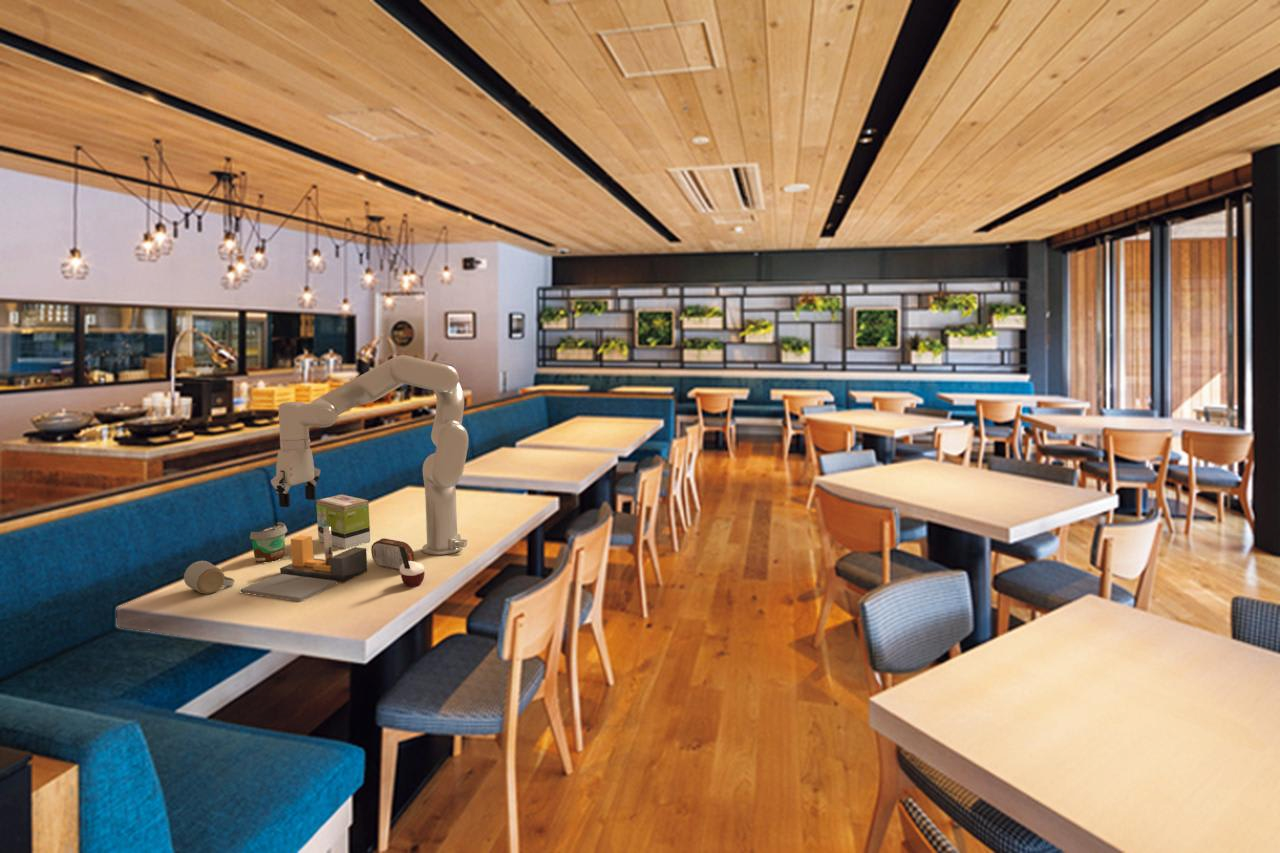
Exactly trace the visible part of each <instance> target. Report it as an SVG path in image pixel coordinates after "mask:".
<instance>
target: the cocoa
mask: <svg viewBox="0 0 1280 853" xmlns="http://www.w3.org/2000/svg"><path fill="white" fill-rule="evenodd" d="M399 549H400V553H401V556H402V560H403V564H402V565H401V566H400V570H399V572H400V578H401V581H402V583H403V584H404V585H405V586H406V587H417V586H419V585H421V584H422V582H423V581H424V578H425V569H426V568H425V567H424V565H423V564H422V563H420V562H416V561H415V560H414V561H408V558H407V554H406V551H405V548H404V547H399Z"/></svg>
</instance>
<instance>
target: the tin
mask: <svg viewBox="0 0 1280 853" xmlns="http://www.w3.org/2000/svg"><path fill="white" fill-rule="evenodd" d="M370 547H371V558H372V561H373V562H374V563H375V564H376V565H377V566H379V567H381V568H385V567H386V568H387V569H391V570H396V571H400V566H401V565H402V564H403V560H402V556H401V553H400V549H399V547H404V548H405V551H406V554H407V558H408V561H414V562H415V552H414V550H413V548H412V547H411V546H410V545H409V544H408V543H407V542H405V541H400V540H395V539H389V538H380V539H379V540H376V541H375V542H373V543H372V545H371V546H370Z"/></svg>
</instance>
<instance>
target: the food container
mask: <svg viewBox="0 0 1280 853" xmlns="http://www.w3.org/2000/svg"><path fill="white" fill-rule="evenodd" d="M287 532H288V528H287V526H286V524H285V523H283V522H279V521H278V522H277V524H276V525H274V526H270V527H266V528H264V529H262V530H260V531H250V535H249V540H251V544H252V549H253V555H254V561H255V562H254V563H255V564H264V563H263V562H268V563H273V562H276V561H280V560H282V559H284V558H285V547H286V546H285V545H286V544H285V543H286V533H287ZM283 557H284V558H283ZM279 559H280V560H279ZM272 561H273V562H272Z"/></svg>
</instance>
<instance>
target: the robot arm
mask: <svg viewBox="0 0 1280 853" xmlns="http://www.w3.org/2000/svg"><path fill="white" fill-rule="evenodd" d="M459 377H460V376H459V373H458V372H457V369H455V367H453V366H451V365H449V364H445V363H444V364H443V363H439V362H435V361H431V360H425V359H422V358H419V357H415V356H411V355H405V354H402V355H400V354H399V355H396V356H394V357H392V358H390V359H388V360H387V361H384V362H383V363H381V364H379V365H378V366H376V367H374V368H372V369H370V370H368V371H366V372H365V373H363V374H361V375H358V376H357V377H355V378H353V379H351V380H349V381H347V382H346V383H343V384H342V385H339V386H338V387H336V388H334V389H332V390H330V391H328V392H327V393H324V394H322V395H321V396H319V397H317V398H315V399H314V400H313V401H311V402H310V403H305V402H303V401H285V402H281V403H280V404H279V405H278V421H279V423H278V424H279V445H280V450H278V452H277V458H276V468H275V469H276V470H275V474H276V475H275V476H274V477H273V478H272V479H270V484H271V485H272V486H273V489H274V491H275V492H276V493H277V494H278V502H279V504H278V505H279V507H282V508H289V507H290V506H291V503H290V502H291V500H290V497H291V496H290V493H288V492H289V490H290V488H291V487H292V486H297V485H300V484H304V483H305V486H304V494H305V500H308V501H309V500H310V501H311V500H312V501H314V500H315V501H316V500H317V499H316V498H317V496H316V495H317V494H316V487H317V485H318V481H319V479H320V477H319V476H320V475H321V469H319V468H317V467H316V466H315V465H314V464H315V463H314V457H313V452H312V448H311V447H310V446H311V444H310V443H311V439H310V427H315V428H327V427H331V426H333V425H334V424H335V423H336V422H337V420H338V418H339V416H340V415H341V414H343V413H346V412H347V411H349V410H350V409H353V408H355V407H358V406H361V405H365V404H370V403H373V402H375V401H377V400H379V399H380V398H382V397H384V396H385V395H388V394H389V393H391V392H393V391H395V390H396V389H399V388H400V387H402V386H404V385H409V386H412V387H417V388H419V389H425V390H429V391H433V392H434V394H435V397H436V406H435V407H436V408H435V413H434V419H433V425H432V430H431V436H430V438H431V442H432V443H433V445H434V446H435V447H436V448H435V452H434V453H431V454H429V455H428V456H427V457H426V458H425V460H424V462H423V465H422V476H423V477H422V478H423V485H424V494H425V495H424V497H425V499H424V500H425V523H426V524H425V525H426V527H425V528H426V543H425V544H424V545H422V549H421V551H422V552H423V553H424V554H427V555H433V556H440V555H441V556H442V555H449V554H453V553H457V552H459V551H461V550H462V549H463V548H466V547H467V545H468V539H463V538H461V534H459V533H458V521H457V520H458V514H457V513H458V512H457V490H456V485H457V484H458V483H459V482H460V481H461V479H462V477H463V474H464V470H465V465H466V460H467V453H468V450H469V433H468V431H467V429H466V427H464V426H463V417H464V409H465V395H464V391H463V389H462V386H461V383H460V382H459V381H460V378H459Z"/></svg>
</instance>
